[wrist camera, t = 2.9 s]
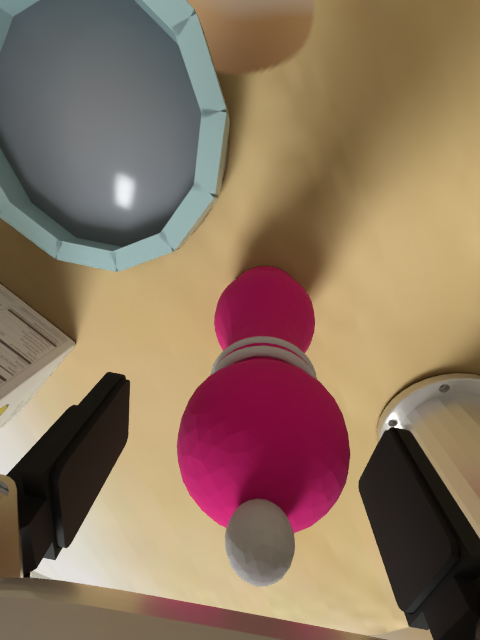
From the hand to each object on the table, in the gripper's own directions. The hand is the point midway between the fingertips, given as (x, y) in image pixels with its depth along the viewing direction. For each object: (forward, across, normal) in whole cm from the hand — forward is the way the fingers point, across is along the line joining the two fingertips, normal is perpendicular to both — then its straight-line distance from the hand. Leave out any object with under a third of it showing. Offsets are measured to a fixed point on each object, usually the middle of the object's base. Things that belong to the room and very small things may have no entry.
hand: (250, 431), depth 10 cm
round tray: (+16, +13, -10) cm, 23 cm away
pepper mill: (+16, -1, 0) cm, 16 cm away
